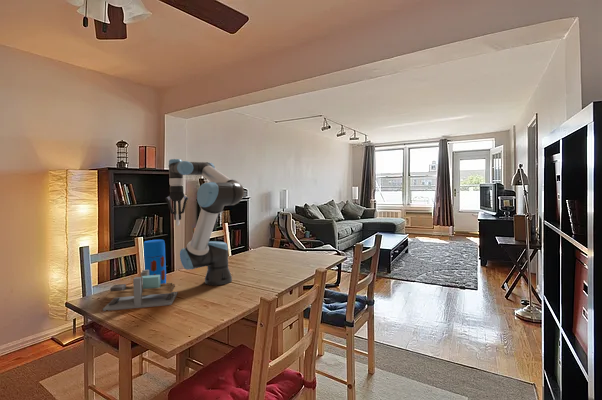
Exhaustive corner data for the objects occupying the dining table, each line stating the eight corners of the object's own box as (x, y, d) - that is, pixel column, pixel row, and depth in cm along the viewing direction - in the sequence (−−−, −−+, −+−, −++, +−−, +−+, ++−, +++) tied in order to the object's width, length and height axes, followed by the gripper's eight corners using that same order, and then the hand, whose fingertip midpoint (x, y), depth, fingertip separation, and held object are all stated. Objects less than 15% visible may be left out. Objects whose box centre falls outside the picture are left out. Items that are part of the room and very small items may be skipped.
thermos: (170, 283, 185) (168, 239, 184) (156, 288, 175) (154, 243, 174) (155, 281, 188) (153, 239, 187) (140, 287, 178) (139, 242, 177)
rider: (160, 286, 159) (160, 274, 158) (158, 289, 155) (158, 277, 154) (143, 288, 157) (142, 275, 157) (140, 290, 153) (140, 278, 153)
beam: (175, 286, 164) (174, 269, 163) (170, 293, 152) (170, 275, 152) (115, 290, 158) (114, 273, 158) (105, 298, 146) (104, 280, 146)
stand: (177, 293, 166) (176, 267, 166) (171, 304, 150) (170, 276, 150) (116, 298, 160) (114, 271, 160) (102, 310, 144) (101, 281, 144)
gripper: (188, 185, 195) (190, 224, 196) (166, 185, 192) (167, 225, 193) (187, 185, 187) (188, 225, 188) (163, 185, 185) (164, 226, 186)
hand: (177, 225), depth 191 cm, fingers closed
